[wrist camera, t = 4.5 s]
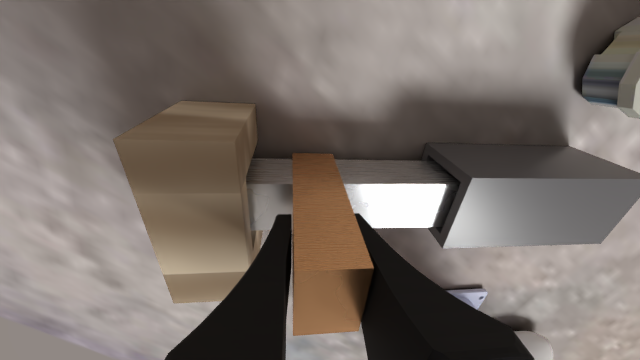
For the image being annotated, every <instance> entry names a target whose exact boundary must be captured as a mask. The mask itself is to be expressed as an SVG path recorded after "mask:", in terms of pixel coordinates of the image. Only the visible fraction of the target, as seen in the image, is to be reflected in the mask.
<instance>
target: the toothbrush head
mask: <svg viewBox="0 0 640 360" xmlns="http://www.w3.org/2000/svg"><path fill="white" fill-rule="evenodd" d="M582 97H584V98H585V99H586V100H587V101H588V102H589V103H591V104H592V105H599V106H606V107H614V108H619V109H620V110H621V111H622V112H623V113H624V114H626V115H627V116H628V117H632V118H639V119H640V17H637V18H635V19H634V20H632V21H631V22H629V23H627V24H626V25H624V26H623V27H621V28H620V29H618V30H616V31H615V33H614V41H613V42H612V43H611V44H610V45H609V46H608V47H607V49H606V50H605V51H604V52H603V53H602V54H601V55H594V56H593V58H592V60H591V62H590V64H589V66H588V68H587V70H586V72H585V74H584V77H583V82H582Z"/></svg>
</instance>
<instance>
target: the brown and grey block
mask: <svg viewBox="0 0 640 360" xmlns="http://www.w3.org/2000/svg"><path fill="white" fill-rule="evenodd" d="M460 184H461V182H460V181H459V180H458V179H456V178H455V177H454V176H453V175H452V174H450V173H449V172H448V171H447V170H446V169H444V168H443V167H442V166H441V165H440V164H439V163H437V162H436V161H401V160H335V159H334V156H333V154H312V153H292V159H264V158H252V160H251V163H250V166H249V169H248V172H247V175H246V187H247V197H248V207H249V217H250V227H251V231H255V230H271V228H272V226H273V224H274V221H275V217H276V216H277V215H278V214H292V260H293V336H297V335H310V334H324V333H338V332H352V331H359V327H360V323H361V319H362V315H363V311H364V307H365V303H366V299H367V295H368V291H369V287H370V283H371V278H372V274H373V270H374V267H373V264H372V261H371V258H370V256H369V253H368V250H367V247H366V245H365V242H364V239H363V236H362V234H361V231H360V228H359V225H358V223H357V220H356V217H355V214H354V213H359V214H360V215H361V216H362V217H363V218H364V219H365V220H366V221H367V222H368V224H369V225H370V226H371V227H372V228H405V227H443V226H444V224H445V221H446V219H447V216H448V214H449V211H450V209H451V206H452V204H453V201H454V199H455V196H456V194H457V191H458V189H459V186H460Z"/></svg>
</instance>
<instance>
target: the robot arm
mask: <svg viewBox="0 0 640 360" xmlns="http://www.w3.org/2000/svg"><path fill="white" fill-rule="evenodd" d="M354 214H355V217H356V220H357V223H358V225H359V228H360V231H361V234H362V236H363V239H364V242H365V245H366V247H367V250H368V253H369V256H370V258H371V261H372V264H373V267H374V270H373V274H372V278H371V283H370V287H369V291H368V295H367V299H366V303H365V307H364V311H363V315H362V319H361V324H362V329H363V335H364V340H365V345H366V351H367V356H368V360H535V359H534V357H533V356H532V355H531V353H530V352H529V351H528V349H527V348H526V347H525V345H524V344H523V343H522V342H521V340H520V339H519V338H518V336H517V335H516V334H515V332H514V331H513V330H512V329H511V327H509V326H507V325H505V324H503V323H501V322H499V321H497V320H496V319H494V318H492V317H490V316H488V315H486V314H484V313H482V312H480V311H478V308H479V307H480V305H481V304H482V302H483V300H484V299H485V297H486V296H487V291H486V290H485V289H464V290H444V289H443V288H441V287H440V286H438V285H437V284H435V283H434V282H432V281H431V280H430V279H428V278H427V277H425V276H424V275H423V274H422V273H420V272H419V271H418V270H416V269H415V268H414V267H413V266H411V265H410V264H409V263H408V262H407V261H405V260H404V259H403V258H402V257H401V256H400V255H399V254H398V253H397V252H395V251H394V250H393V249H392V248H391V247H390V246H389V245H388V244H387V243H386V242H385V241H384V240H383V239H382V238H381V237H380V236H379V235H378V233H377V232H376V231H375V230H374V229H373V228H372V227H371V226H370V225H369V224H368V222H367V221H366V220H365V219H364V218H363V217H362V216H361V215H360V214H359V213H354ZM291 236H292V214H278V215H277V216H276V217H275V221H274V224H273V226H272V228H271V231H270V233H269V235H268V237H267V239H266V241H265V242H264V244H263V246H262V248H261V250H260V251H259V253H258V254H257V256H256V258H255V259H254V261H253V262H252V264H251V265H250V267H249V268H248V270H247V271H246V272H245V274H244V275H243V276H242V278H241V279H240V280H239V282H238V283H237V284H236V285H235V287H234V288H233V289H232V290H231V292H230V293H229V294H228V295H227V296H226V297H225V299H224V300H223V301H222V302H221V303H220V304H219V305H218V306H217V307H216V308H215V309H214V310H213V311H212V312H211V313H210V314H209V316H208V317H207V318H206V319H205V320H204V321H203V322H202V323H201V324H200V325H199V326H198V327H197V328H196V329H194V330H193V331H192V332H191V333H190V334H189V335H188V336H187V337H186V338H185V339H184V340H182V341H181V342H180V343H179V344H178V345H177V346H176V347H175V348H174V349H173V350H171V351H170V352H169V353H168V355H167V356H166V358H165V360H285V358H286V316H287V305H288V295H289V285H290V275H291Z"/></svg>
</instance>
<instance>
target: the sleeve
mask: <svg viewBox="0 0 640 360" xmlns="http://www.w3.org/2000/svg"><path fill="white" fill-rule="evenodd" d="M421 161H436V162H437V163H439V164H440V165H441V166H442V167H443V168H444V169H446V170H447V171H448V172H449V173H450V174H452V175H453V176H454V177H455V178H456V179H458V180H459V181H460V182H461V184H460V186H459V189H458V191H457V194H456V196H455V199H454V201H453V204H452V206H451V209H450V211H449V214H448V216H447V219H446V221H445V224H444V226H443V227H427V228H428V229H429V230H430V232H431V233H432V235H433V236H434V237H435V239H436V240H437V242H438V243H439V244H440V246H441V247H442V248H443V249H444V248H476V247H507V246H539V245H571V244H601V243H602V241H603V240H604V239H605V238H606V237H607V236H608V234H609V233H610V232H611V231H612V230H613V228H614V227H615V226H616V225H617V224H618V223H619V221H620V220H621V219H622V218H623V217H624V215H625V214H626V213H627V212H628V211H629V210H630V208H631V207H632V206H633V205H634V204H635V202H636V201H637V200H638V199H639V198H640V173H638V172H635V171H633V170H630V169H627V168H625V167H622V166H620V165H617V164H614V163H612V162H609V161H607V160H604V159H601V158H599V157H596V156H594V155H591V154H589V153H586V152H583V151H581V150H578V149H576V148H573V147H570V146H535V145H493V144H452V143H426V146H425V150H424V153H423V156H422V160H421Z"/></svg>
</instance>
